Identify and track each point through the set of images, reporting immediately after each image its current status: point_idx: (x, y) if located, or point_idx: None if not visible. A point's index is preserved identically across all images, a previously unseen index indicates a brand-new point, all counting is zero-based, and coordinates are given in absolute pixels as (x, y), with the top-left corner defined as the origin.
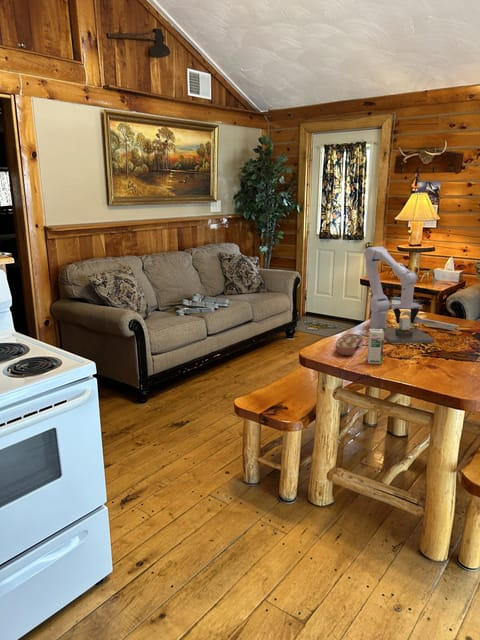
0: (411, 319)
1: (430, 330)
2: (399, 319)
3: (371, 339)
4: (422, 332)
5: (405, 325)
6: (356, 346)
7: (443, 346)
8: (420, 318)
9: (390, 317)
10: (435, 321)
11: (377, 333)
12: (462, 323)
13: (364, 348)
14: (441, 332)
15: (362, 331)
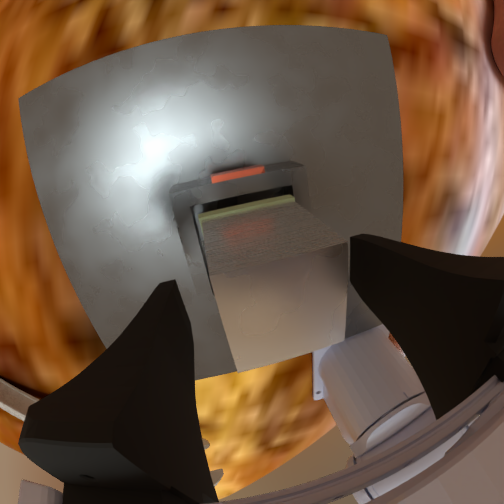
0: (182, 334)
1: (61, 374)
2: (388, 248)
3: None
4: (83, 290)
5: (266, 222)
6: (497, 4)
7: (7, 36)
8: None
9: (242, 470)
10: None
11: None
12: (2, 430)
13: (469, 13)
14: (9, 345)
15: None
